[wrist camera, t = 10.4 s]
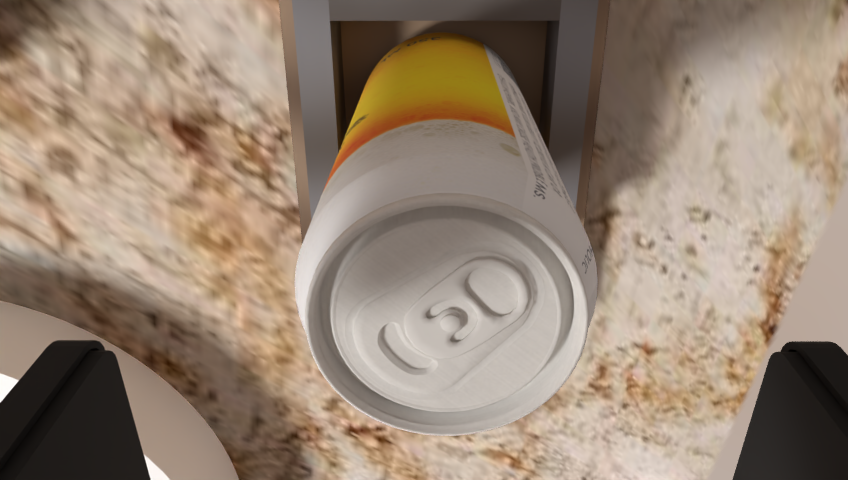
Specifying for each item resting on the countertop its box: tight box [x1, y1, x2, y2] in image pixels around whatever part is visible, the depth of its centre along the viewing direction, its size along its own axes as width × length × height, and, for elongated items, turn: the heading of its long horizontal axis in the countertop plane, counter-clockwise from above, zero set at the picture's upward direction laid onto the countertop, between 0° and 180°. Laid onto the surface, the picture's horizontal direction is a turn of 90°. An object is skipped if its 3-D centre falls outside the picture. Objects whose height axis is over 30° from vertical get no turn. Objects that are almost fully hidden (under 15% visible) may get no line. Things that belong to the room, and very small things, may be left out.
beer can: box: [295, 32, 598, 436], centre depth 19 cm, size 6×6×15 cm
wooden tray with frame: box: [279, 0, 610, 244], centre depth 25 cm, size 20×12×4 cm, turn 0°
